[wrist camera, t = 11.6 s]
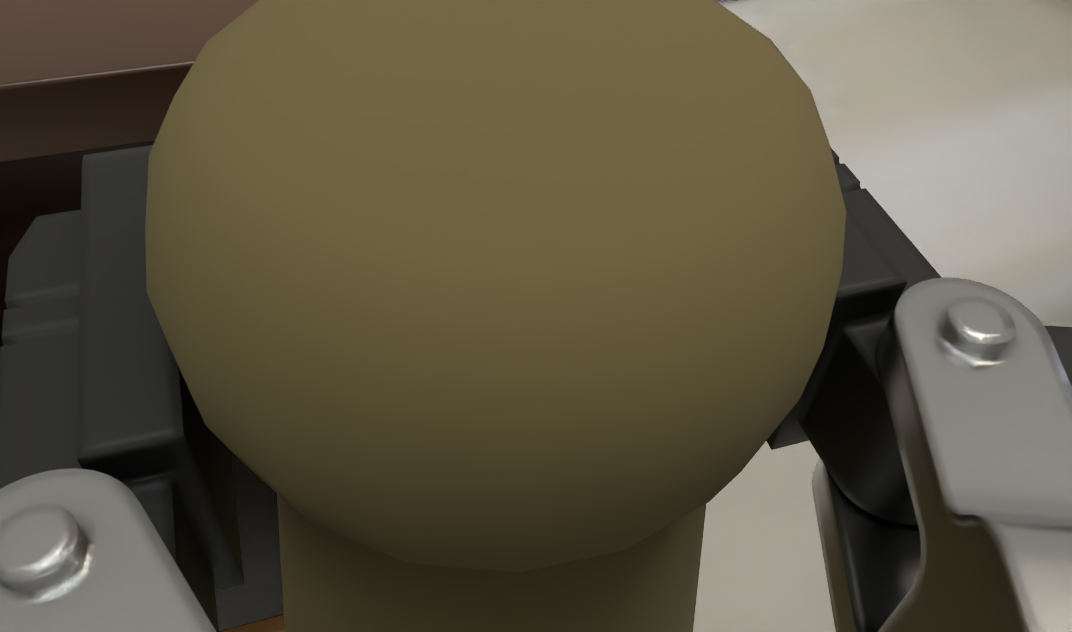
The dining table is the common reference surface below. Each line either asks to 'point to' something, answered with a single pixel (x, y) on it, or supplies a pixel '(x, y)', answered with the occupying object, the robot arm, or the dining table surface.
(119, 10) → the cabinet
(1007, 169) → the dining table surface
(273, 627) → the drawer
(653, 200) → the olive peg doll
